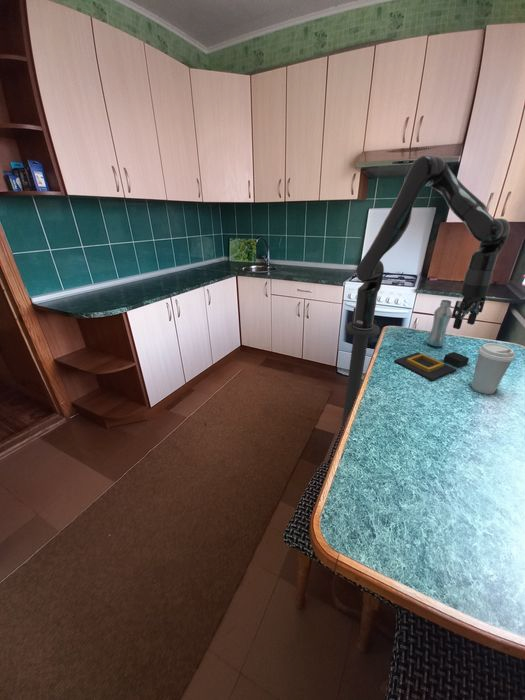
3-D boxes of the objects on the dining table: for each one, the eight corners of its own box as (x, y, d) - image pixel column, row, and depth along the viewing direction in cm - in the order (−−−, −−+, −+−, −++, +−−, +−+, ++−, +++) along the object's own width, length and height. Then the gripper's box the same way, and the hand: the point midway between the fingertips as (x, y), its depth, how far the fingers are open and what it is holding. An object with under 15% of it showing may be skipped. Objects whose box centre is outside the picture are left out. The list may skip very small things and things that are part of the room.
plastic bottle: (431, 348, 124) (443, 304, 116) (423, 342, 131) (434, 299, 122) (446, 348, 125) (459, 303, 116) (437, 341, 131) (449, 298, 122)
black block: (443, 361, 114) (445, 354, 113) (451, 358, 117) (453, 351, 115) (458, 368, 110) (460, 361, 108) (466, 364, 112) (469, 357, 111)
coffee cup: (473, 395, 94) (488, 354, 87) (461, 379, 103) (474, 341, 96) (506, 398, 93) (524, 356, 86) (491, 381, 101) (506, 343, 94)
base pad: (393, 362, 115) (395, 356, 113) (417, 354, 120) (418, 348, 119) (431, 381, 102) (433, 375, 101) (455, 371, 108) (457, 365, 106)
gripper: (477, 277, 105) (464, 319, 113) (453, 282, 100) (441, 326, 107) (500, 281, 99) (485, 325, 106) (475, 287, 94) (461, 333, 101)
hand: (463, 326), depth 107 cm, fingers open, 8 cm apart
